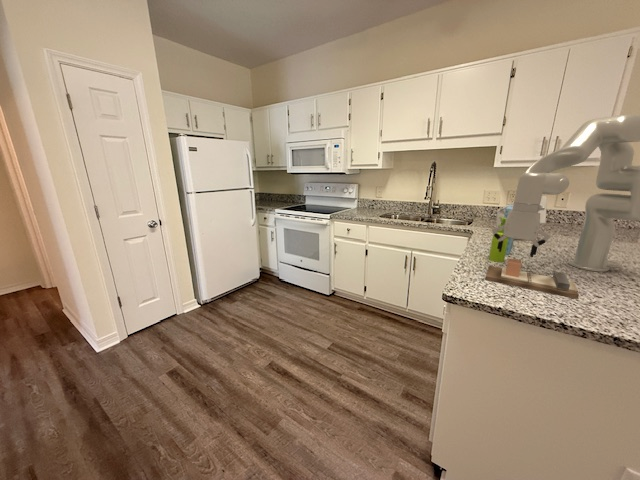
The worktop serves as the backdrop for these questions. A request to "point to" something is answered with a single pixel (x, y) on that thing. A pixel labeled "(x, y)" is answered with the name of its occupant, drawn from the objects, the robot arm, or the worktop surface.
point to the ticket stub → (514, 271)
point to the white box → (542, 212)
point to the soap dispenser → (494, 252)
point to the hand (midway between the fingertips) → (515, 253)
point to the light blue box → (510, 240)
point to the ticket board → (538, 282)
